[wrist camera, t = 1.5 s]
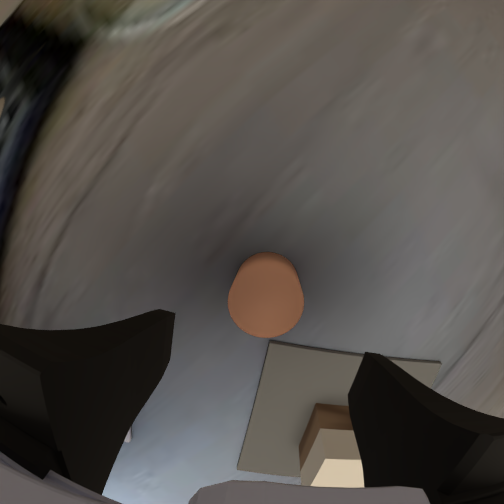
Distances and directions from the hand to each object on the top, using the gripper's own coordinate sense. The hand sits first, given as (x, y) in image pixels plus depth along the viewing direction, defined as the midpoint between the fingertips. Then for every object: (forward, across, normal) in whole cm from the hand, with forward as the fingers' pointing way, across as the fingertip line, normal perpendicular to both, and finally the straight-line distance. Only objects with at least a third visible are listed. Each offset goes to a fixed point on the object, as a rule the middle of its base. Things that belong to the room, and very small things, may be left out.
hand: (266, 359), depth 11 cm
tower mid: (+6, -8, +11) cm, 15 cm away
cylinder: (+10, 0, 0) cm, 10 cm away
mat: (+10, -8, +11) cm, 16 cm away
